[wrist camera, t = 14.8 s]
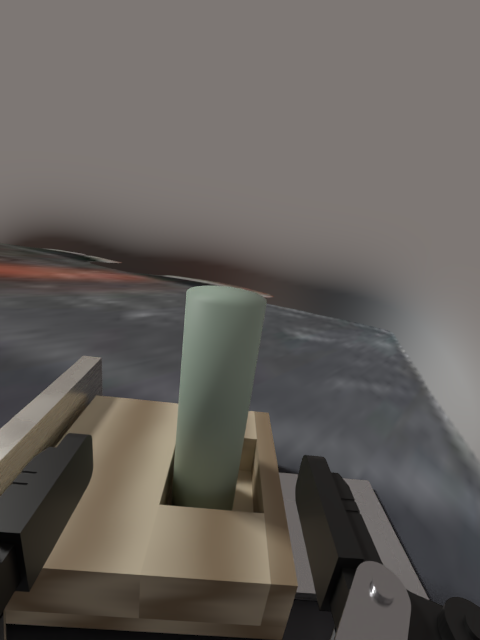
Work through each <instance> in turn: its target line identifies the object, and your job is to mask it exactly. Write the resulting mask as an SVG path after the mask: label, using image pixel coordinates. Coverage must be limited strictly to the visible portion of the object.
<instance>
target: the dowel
mask: <svg viewBox="0 0 480 640" xmlns="http://www.w3.org/2000/svg"><path fill="white" fill-rule="evenodd" d="M266 303H267V300H266V299H265V298H264V297H263V296H261V295H259V294H256V293H254V292H251V291H247V290H243V289H238V288H232V287H224V286H198V287H193V288H190V289H188V290H187V294H186V308H185V321H184V335H183V349H182V363H181V376H180V390H179V404H178V418H177V431H176V445H175V459H174V473H173V487H172V500H171V506H181V507H193V508H205V509H217V510H229V511H232V509H233V502H234V496H235V490H236V484H237V478H238V472H239V466H240V460H241V454H242V448H243V442H244V436H245V430H246V424H247V418H248V412H249V406H250V400H251V394H252V388H253V381H254V375H255V369H256V363H257V357H258V351H259V345H260V339H261V333H262V327H263V321H264V315H265V309H266Z"/></svg>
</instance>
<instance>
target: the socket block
mask: <svg viewBox="0 0 480 640" xmlns="http://www.w3.org/2000/svg"><path fill="white" fill-rule="evenodd" d="M177 418H178V404H176V403H166V402H156V401H147V400H137V399H127V398H118V397H108V396H98V395H96V396H95V398H94V399H93V400H92V401H91V403H90V404H89V405H88V406H87V408H86V409H85V410H84V411H83V412H82V414H81V415H80V416H79V417H78V419H77V420H76V421H75V422H74V424H73V425H72V426H71V427H70V429H69V430H68V431H67V432H66V434H65V435H64V436H63V437H62V439H61V440H60V441H59V442H58V444H57V445H56V446H55V447H57V446H58V445H59V443H60V442H61V441H62V440H63V438H64V437H65V436H66V435H67V434H68V433H77V434H88V435H91V436H92V443H93V473H92V477H91V480H90V483H89V485H88V487H87V489H86V490H85V492H84V494H83V496H82V498H81V499H80V501H79V503H78V505H77V507H76V508H75V510H74V512H73V514H72V516H71V517H70V519H69V521H68V523H67V525H66V527H65V528H64V530H63V532H62V534H61V536H60V537H59V539H58V541H57V543H56V545H55V546H54V548H53V550H52V552H51V554H50V555H49V557H48V559H47V561H46V563H45V565H44V566H43V568H42V570H41V572H40V574H39V575H38V577H37V579H36V581H35V583H34V584H33V586H32V588H31V590H30V592H20V591H15V592H14V594H13V595H12V597H11V599H10V600H9V602H8V604H7V605H6V607H5V615H6V624H23V625H39V626H56V627H73V628H89V629H106V630H123V631H140V632H156V633H173V634H190V635H207V636H223V637H240V638H257V639H274V640H282V638H283V634H284V631H285V628H286V624H287V621H288V618H289V614H290V611H291V608H292V605H293V601H294V598H295V595H296V591H297V588H298V583H297V577H296V571H295V565H294V559H293V553H292V547H291V542H290V536H289V530H288V524H287V518H286V512H285V506H284V501H283V495H282V489H281V483H280V477H279V471H278V465H277V460H276V454H275V448H274V442H273V436H272V430H271V424H270V419H269V413H263V412H253V411H249V412H248V418H247V424H246V430H245V436H244V442H243V448H242V454H241V460H240V466H239V472H238V478H237V484H236V490H235V496H234V502H233V509H232V511H229V510H217V509H205V508H193V507H181V506H171V500H172V487H173V473H174V459H175V445H176V431H177Z"/></svg>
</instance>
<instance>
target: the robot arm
mask: <svg viewBox="0 0 480 640" xmlns="http://www.w3.org/2000/svg"><path fill="white" fill-rule="evenodd" d="M92 473H93V443H92V436H91V435H88V434H77V433H68V434H67V435H66V436H65V437H64V438H63V440H62V441H61V442H60V443H59V445H58V446H57V447H48V448H46V449H45V450H44V451H42V452H41V453H39V454H38V455H36V456H35V457H33V459H32V460H31V461H30V462H29V463H28V464H27V466H26V467H25V468H24V469H23V470H22V473H20V474H19V475H18V476H17V477H16V479H15V480H14V481H13V483H12V485H10V486H9V487H8V488H7V489H6V490H5V491H4V493H3V494H2V495H1V496H0V640H6V615H5V607H6V605H7V604H8V602H9V600H10V599H11V597H12V595H13V594H14V592H15V591H20V592H30V590H31V588H32V586H33V584H34V583H35V581H36V579H37V577H38V575H39V574H40V572H41V570H42V568H43V566H44V565H45V563H46V561H47V559H48V557H49V555H50V554H51V552H52V550H53V548H54V546H55V545H56V543H57V541H58V539H59V537H60V536H61V534H62V532H63V530H64V528H65V527H66V525H67V523H68V521H69V519H70V517H71V516H72V514H73V512H74V510H75V508H76V507H77V505H78V503H79V501H80V499H81V498H82V496H83V494H84V492H85V490H86V489H87V487H88V485H89V483H90V480H91V477H92ZM295 500H296V506H297V510H298V515H299V519H300V524H301V528H302V533H303V537H304V542H305V547H306V551H307V556H308V560H309V565H310V569H311V574H312V578H313V583H314V588H315V592H316V597H317V601H318V606H319V610H320V611H332V615H333V619H334V623H335V626H334V629H333V632H332V635H331V638H330V640H480V607H478V606H477V605H475V604H474V603H472V602H470V601H469V600H466V599H464V598H460V597H452V598H449V599H448V600H447V601H446V603H445V605H444V606H442V605H439V604H437V603H435V602H432V601H430V600H428V599H426V598H423V597H421V596H419V595H416V594H414V593H412V592H410V591H409V590H407V589H406V588H405V587H404V585H403V583H402V582H401V581H400V579H399V578H398V577H397V576H396V575H395V574H394V573H393V572H392V571H391V570H390V569H388V568H387V567H386V566H384V565H383V563H382V561H381V559H380V556H379V554H378V552H377V550H376V547H375V545H374V543H373V540H372V538H371V536H370V533H369V531H368V529H367V527H366V524H365V522H364V520H363V517H362V515H361V514H360V510H359V508H358V506H357V504H356V502H355V499H354V497H353V494H352V492H351V490H350V487H349V485H348V484H347V483H346V482H345V481H344V479H343V478H342V477H341V476H340V475H339V474H338V473H331V472H330V469H329V466H328V464H327V461H326V459H325V458H324V457H319V456H309V455H304V456H303V458H302V462H301V466H300V470H299V474H298V478H297V482H296V487H295Z"/></svg>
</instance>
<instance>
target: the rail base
mask: <svg viewBox="0 0 480 640" xmlns="http://www.w3.org/2000/svg"><path fill="white" fill-rule="evenodd" d="M96 395H98V396H102V358H99V357H89V356H83V357H81V358H80V359H79V360H78V361H77V362H76V363H75V364H74V365H72V366H71V367H70V368H69V369H68V370H67V371H66V372H64V373H63V374H62V375H61V376H60V377H59V378H58V379H56V380H55V381H54V382H53V383H52V384H51V385H50V386H49V387H47V388H46V389H45V390H44V391H43V392H42V393H41V394H39V395H38V396H37V397H36V398H35V399H34V400H33V401H32V402H30V403H29V404H28V405H27V406H26V407H25V408H24V409H22V410H21V411H20V412H19V413H18V414H17V415H16V416H14V417H13V418H12V419H11V420H10V421H9V422H8V423H7V424H5V425H4V426H3V427H2V428H1V429H0V496H1V495H2V494H3V493H4V491H5V490H6V489H7V488H8V487H9V486H10V485H12V483H13V481H14V480H15V479H16V477H17V476H18V475H19V474H20V473H22V470H23V469H24V468H25V467H26V466H27V464H28V463H29V462H30V461H31V460H32V459H33V457H35V456H36V455H38V454H39V453H41V452H42V451H44V450H45V449H46V448H48V447H55V446H56V445H57V444H58V442H59V441H60V440H61V439H62V437H63V436H64V435H65V434H66V432H67V431H68V430H69V429H70V427H71V426H72V425H73V424H74V422H75V421H76V420H77V419H78V417H79V416H80V415H81V414H82V412H83V411H84V410H85V409H86V408H87V406H88V405H89V404H90V403H91V401H92V400H93V399H94V398H95V396H96ZM279 477H280V483H281V489H282V495H283V501H284V506H285V512H286V518H287V524H288V530H289V536H290V542H291V547H292V553H293V559H294V565H295V571H296V577H297V583H298V588H297V591H296V595H295V598H294V599H299V600H314V601H317V597H316V592H315V588H314V583H313V578H312V574H311V569H310V565H309V560H308V556H307V551H306V547H305V542H304V537H303V533H302V528H301V524H300V519H299V515H298V510H297V506H296V500H295V487H296V482H297V478H298V474H289V473H279ZM343 479H344V478H343ZM344 481H345V482H346V483H347V484H348V485H349V487H350V490H351V492H352V494H353V497H354V499H355V502H356V504H357V506H358V508H359V510H360V514H361V515H362V517H363V520H364V522H365V524H366V527H367V529H368V531H369V533H370V536H371V538H372V540H373V543H374V545H375V547H376V550H377V552H378V554H379V556H380V559H381V561H382V563H383V565H384V566H386V567H387V568H388V569H390V570H391V571H392V572H393V573H394V574H395V575H396V576H397V577H398V578H399V579H400V581H401V582H402V583H403V585H404V587H405V588H406V589H407V590H409V591H410V592H412V593H414V594H416V595H419V596H421V597H423V598H426V599H428V600H429V598H428V596H427V595H426V593H425V591H424V589H423V587H422V585H421V583H420V581H419V579H418V577H417V575H416V573H415V571H414V569H413V567H412V565H411V563H410V561H409V559H408V557H407V555H406V553H405V551H404V550H403V548H402V546H401V544H400V542H399V540H398V538H397V536H396V534H395V532H394V530H393V528H392V526H391V524H390V522H389V520H388V518H387V516H386V514H385V512H384V510H383V508H382V506H381V504H380V503H379V501H378V499H377V497H376V495H375V493H374V491H373V489H372V487H371V485H370V483H369V481H366V480H355V479H344Z"/></svg>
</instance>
